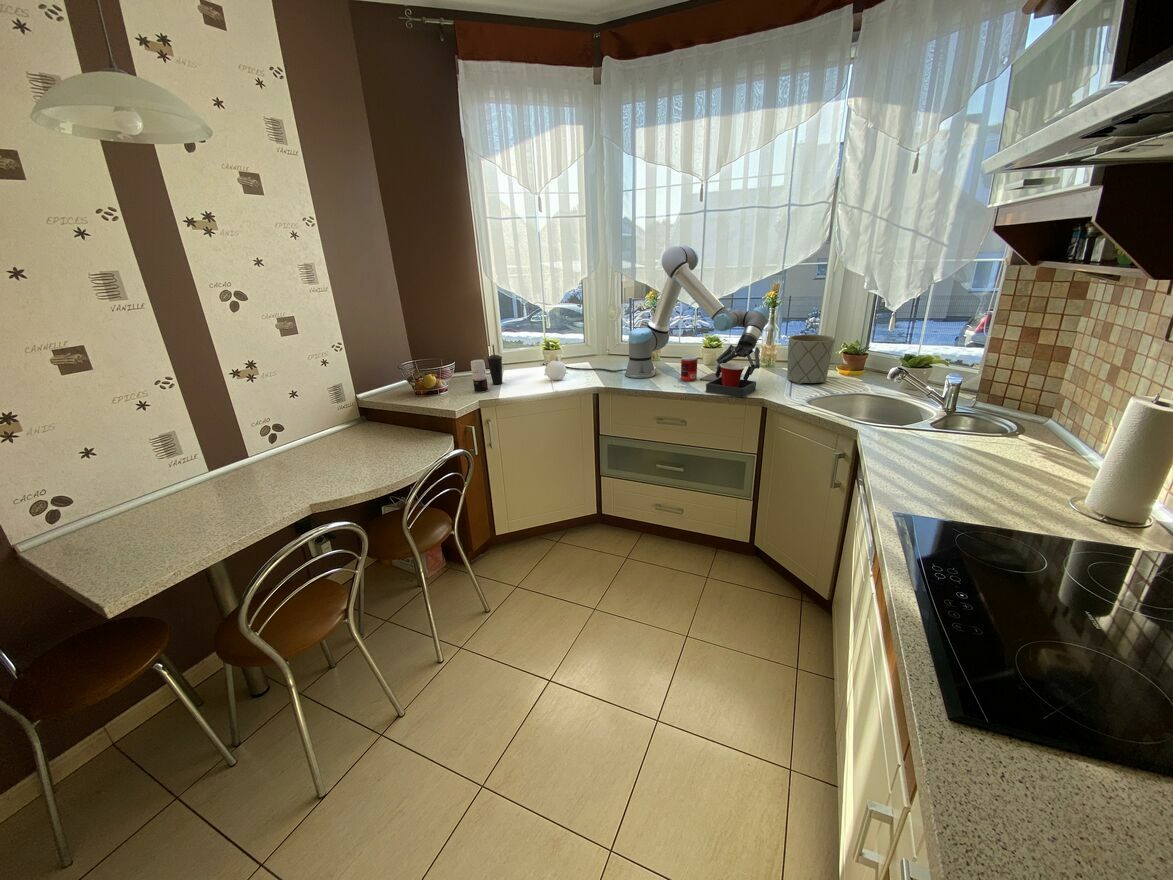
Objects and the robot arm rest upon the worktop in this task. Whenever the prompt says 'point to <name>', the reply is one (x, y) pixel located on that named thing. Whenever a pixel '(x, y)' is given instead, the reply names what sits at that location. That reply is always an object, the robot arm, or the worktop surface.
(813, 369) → the planter
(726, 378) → the plastic cup
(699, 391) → the worktop surface
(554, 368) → the ornament
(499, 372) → the drinking cup
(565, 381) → the worktop surface
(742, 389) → the dark grey tray
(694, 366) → the canned food
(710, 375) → the grey square plate
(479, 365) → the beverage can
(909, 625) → the worktop surface
